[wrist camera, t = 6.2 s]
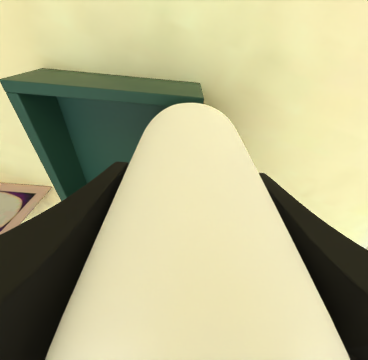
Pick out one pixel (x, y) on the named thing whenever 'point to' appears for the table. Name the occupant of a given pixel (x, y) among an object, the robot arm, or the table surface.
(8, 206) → the greeting card
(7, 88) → the tote
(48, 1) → the table surface
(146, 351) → the can
